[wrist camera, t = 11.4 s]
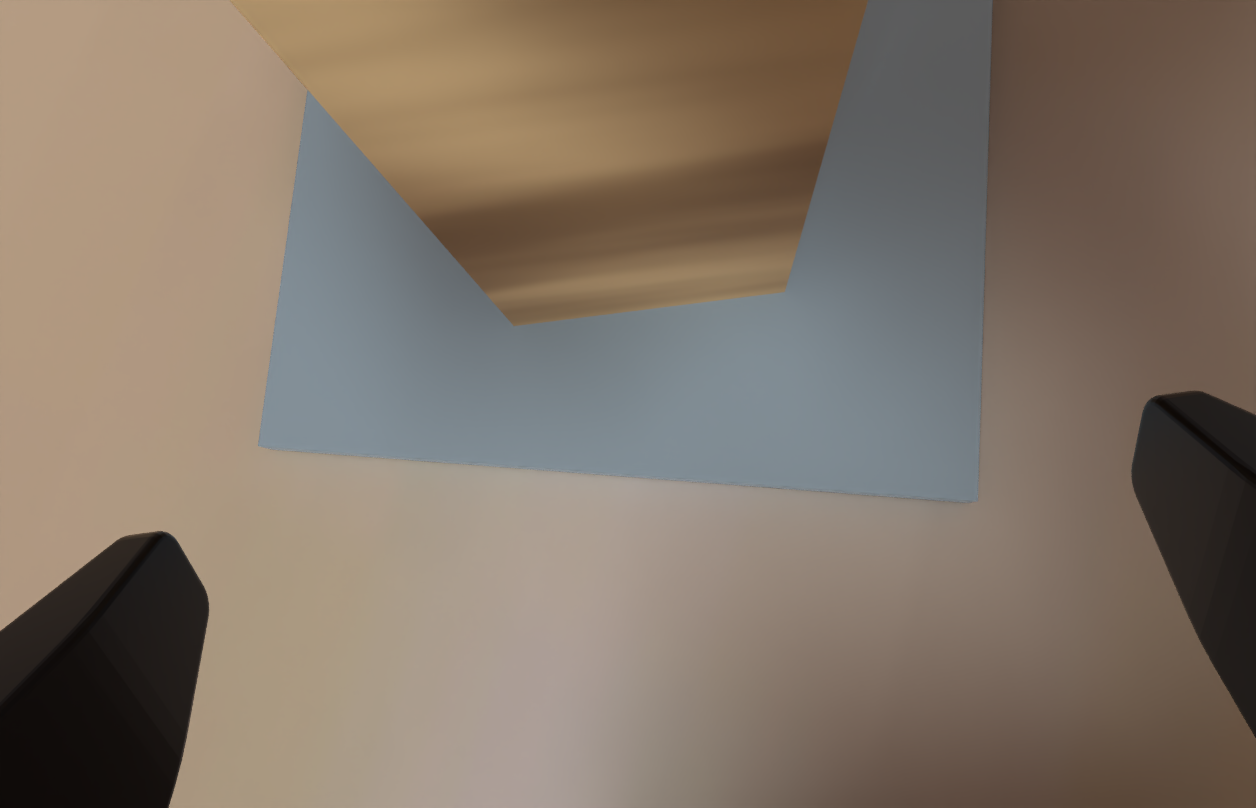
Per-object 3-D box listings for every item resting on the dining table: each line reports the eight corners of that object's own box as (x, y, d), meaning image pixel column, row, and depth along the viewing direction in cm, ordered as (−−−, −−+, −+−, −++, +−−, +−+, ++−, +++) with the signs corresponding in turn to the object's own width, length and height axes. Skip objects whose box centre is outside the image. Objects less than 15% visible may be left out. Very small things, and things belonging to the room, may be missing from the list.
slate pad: (968, 502, 17) (977, 501, 17) (272, 449, 18) (257, 446, 18) (986, -61, 19) (994, -81, 18) (343, -76, 20) (333, -94, 19)
